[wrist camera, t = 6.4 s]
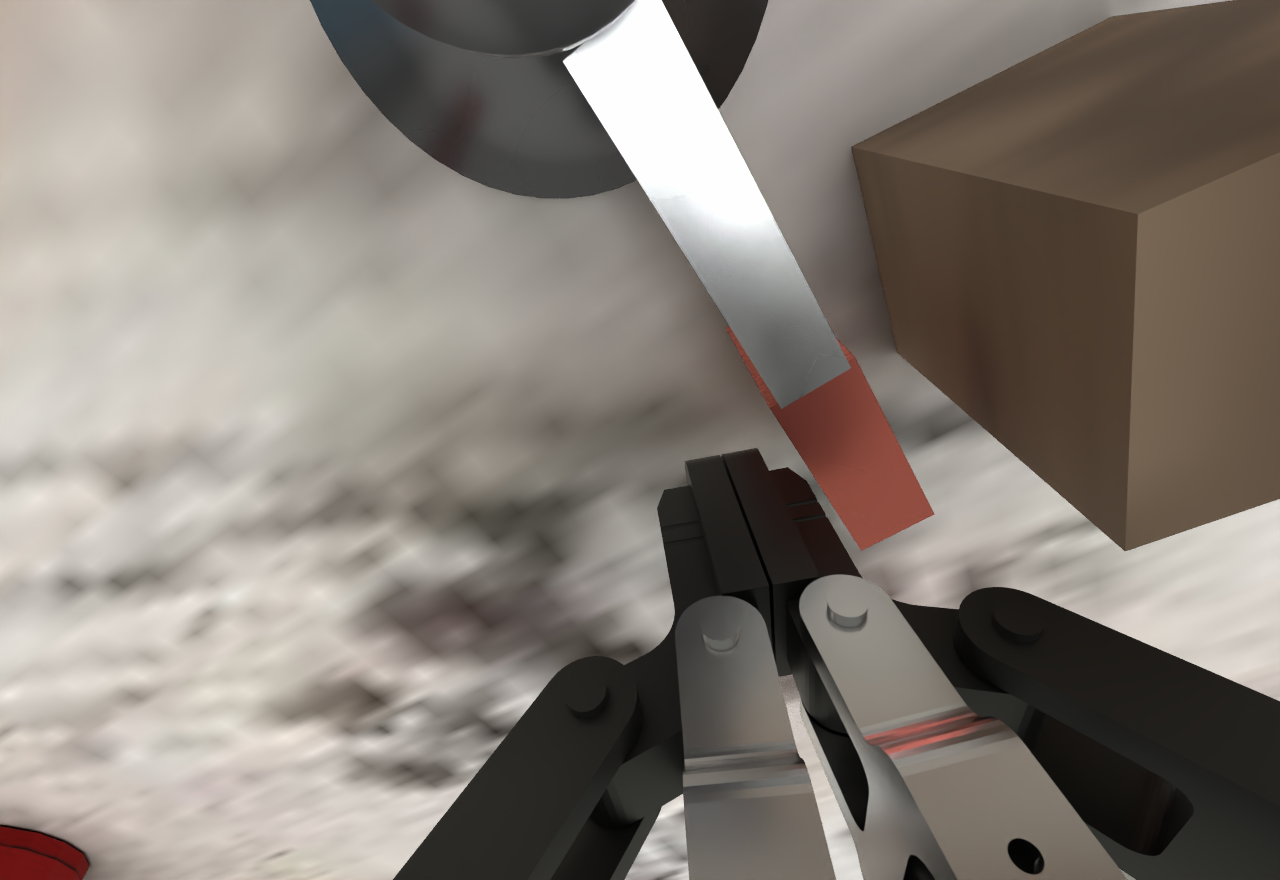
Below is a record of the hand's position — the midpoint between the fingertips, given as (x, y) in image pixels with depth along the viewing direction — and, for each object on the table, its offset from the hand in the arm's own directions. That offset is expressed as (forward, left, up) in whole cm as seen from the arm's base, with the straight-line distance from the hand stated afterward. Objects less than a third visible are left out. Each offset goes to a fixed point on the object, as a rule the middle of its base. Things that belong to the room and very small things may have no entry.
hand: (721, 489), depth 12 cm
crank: (-3, -2, -2) cm, 4 cm away
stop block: (-8, +2, -3) cm, 8 cm away
